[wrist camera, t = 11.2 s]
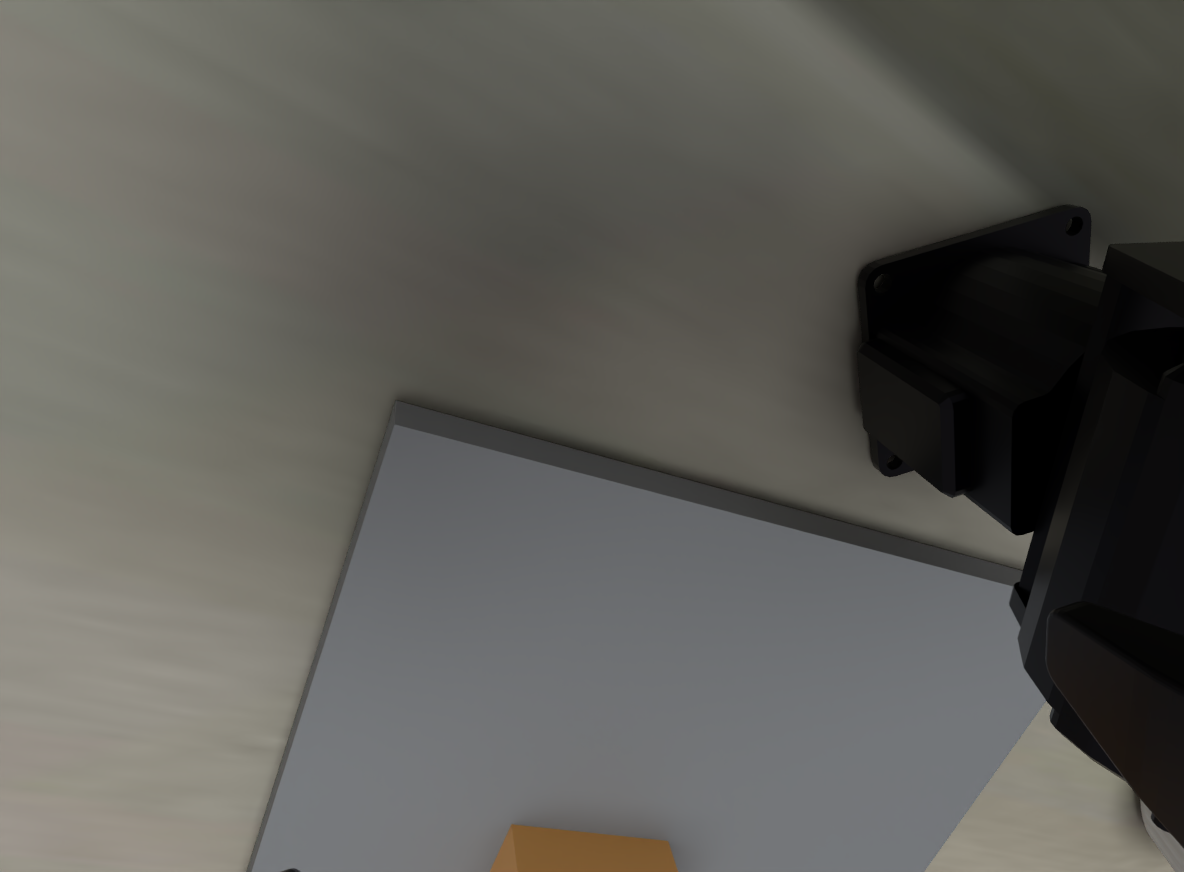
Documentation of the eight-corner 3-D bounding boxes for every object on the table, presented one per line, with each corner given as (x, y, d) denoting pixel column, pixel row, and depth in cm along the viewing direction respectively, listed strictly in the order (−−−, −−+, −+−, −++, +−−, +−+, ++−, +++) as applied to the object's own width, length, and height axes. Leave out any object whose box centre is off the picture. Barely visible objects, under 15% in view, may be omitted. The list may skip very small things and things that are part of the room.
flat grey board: (1076, 585, 28) (1109, 612, 27) (838, 931, 34) (855, 966, 33) (395, 400, 20) (394, 424, 19) (240, 889, 26) (231, 934, 25)
